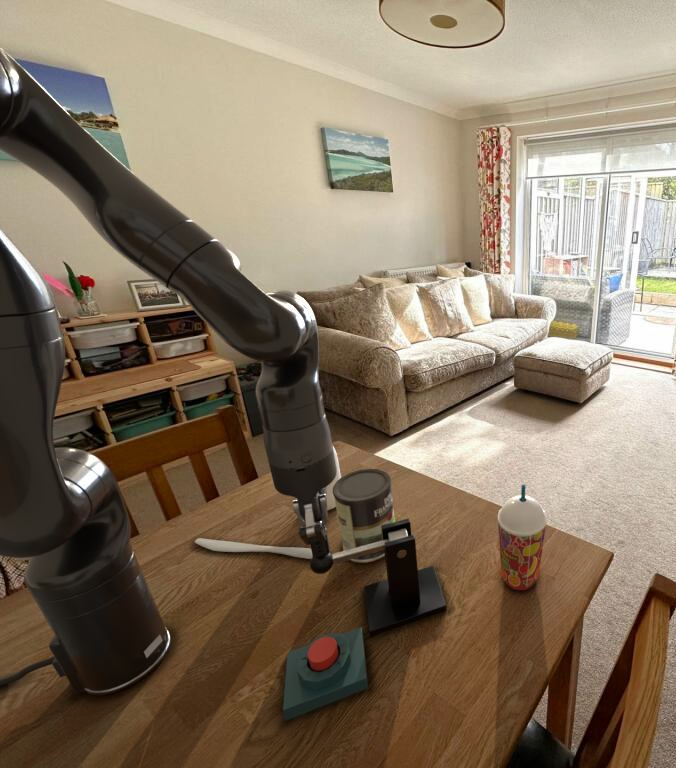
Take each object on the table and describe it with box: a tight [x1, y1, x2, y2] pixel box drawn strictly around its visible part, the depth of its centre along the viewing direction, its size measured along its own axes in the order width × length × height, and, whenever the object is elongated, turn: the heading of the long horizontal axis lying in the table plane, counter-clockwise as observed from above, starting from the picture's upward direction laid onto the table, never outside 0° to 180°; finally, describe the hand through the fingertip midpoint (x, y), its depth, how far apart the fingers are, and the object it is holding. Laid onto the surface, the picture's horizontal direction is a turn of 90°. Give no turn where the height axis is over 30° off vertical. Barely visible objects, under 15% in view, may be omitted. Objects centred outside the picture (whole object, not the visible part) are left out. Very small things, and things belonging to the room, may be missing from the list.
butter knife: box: [194, 537, 313, 560], centre depth 77 cm, size 1×27×3 cm
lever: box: [309, 528, 408, 575], centre depth 61 cm, size 14×3×3 cm, turn 114°
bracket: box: [364, 518, 447, 638], centre depth 65 cm, size 12×9×15 cm
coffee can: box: [333, 468, 396, 564], centre depth 77 cm, size 10×10×14 cm
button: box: [308, 637, 338, 671], centre depth 55 cm, size 4×4×2 cm
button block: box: [282, 627, 369, 721], centre depth 56 cm, size 10×8×4 cm
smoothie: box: [497, 484, 548, 591], centre depth 69 cm, size 8×8×20 cm
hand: (321, 553), depth 58 cm, fingers closed
